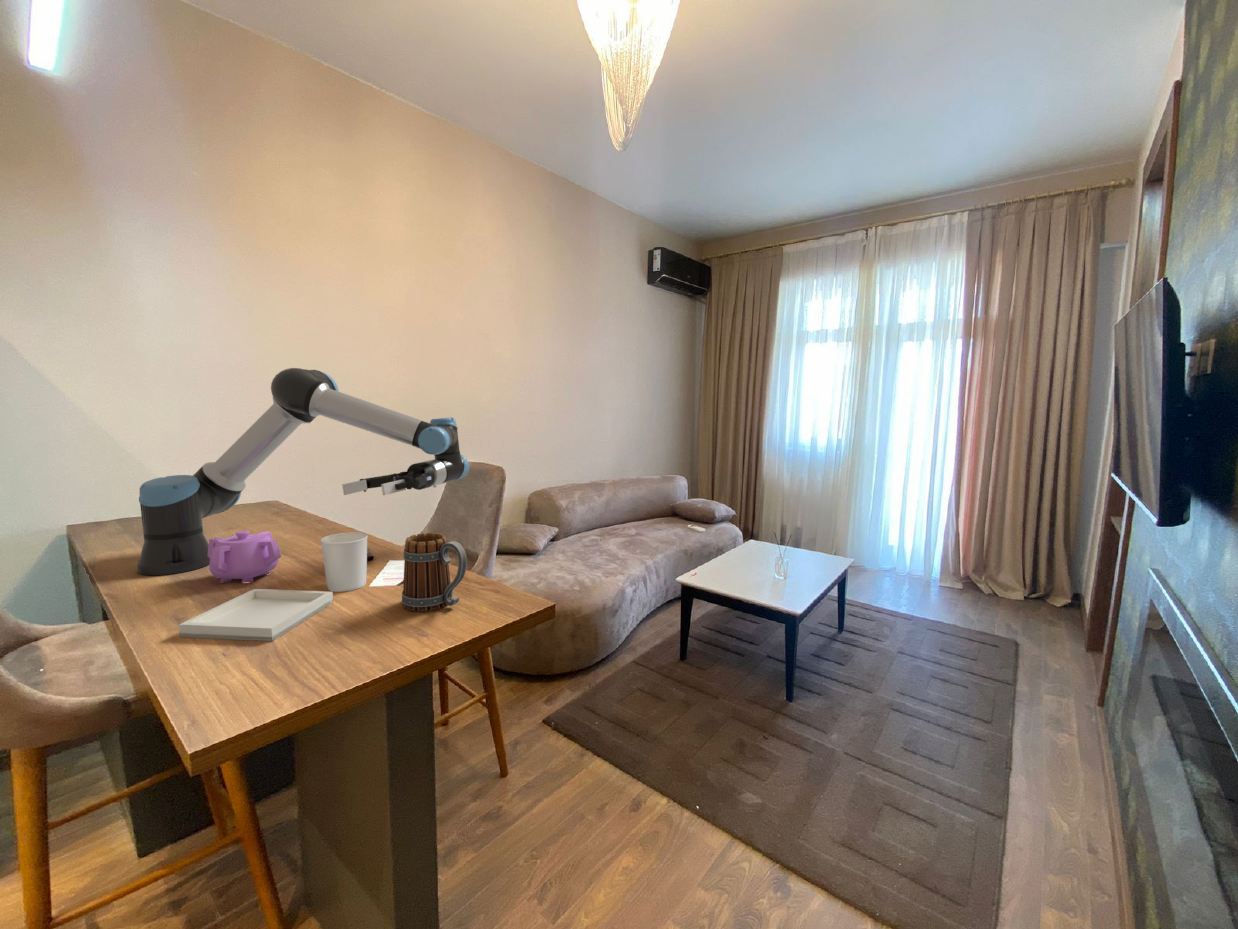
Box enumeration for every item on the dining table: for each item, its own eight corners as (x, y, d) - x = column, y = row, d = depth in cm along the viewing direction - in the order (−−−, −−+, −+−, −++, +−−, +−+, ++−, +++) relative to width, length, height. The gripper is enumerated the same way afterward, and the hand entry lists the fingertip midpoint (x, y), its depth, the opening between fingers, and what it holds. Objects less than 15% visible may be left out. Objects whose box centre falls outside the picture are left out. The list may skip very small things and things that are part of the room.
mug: (391, 608, 108) (388, 540, 106) (426, 591, 118) (424, 529, 116) (448, 620, 102) (446, 549, 100) (481, 602, 112) (479, 537, 110)
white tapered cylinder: (337, 596, 114) (335, 545, 112) (315, 587, 119) (312, 538, 117) (378, 583, 122) (376, 536, 120) (355, 576, 127) (353, 530, 126)
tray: (180, 637, 93) (179, 624, 93) (255, 599, 111) (254, 588, 111) (272, 641, 92) (271, 628, 92) (333, 602, 110) (332, 591, 110)
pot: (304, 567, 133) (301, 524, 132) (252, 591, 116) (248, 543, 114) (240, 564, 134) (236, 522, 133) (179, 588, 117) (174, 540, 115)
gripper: (461, 487, 140) (402, 505, 120) (395, 487, 149) (331, 503, 130) (458, 460, 138) (398, 474, 119) (392, 462, 148) (326, 475, 129)
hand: (363, 489), depth 125 cm, fingers open, 13 cm apart
